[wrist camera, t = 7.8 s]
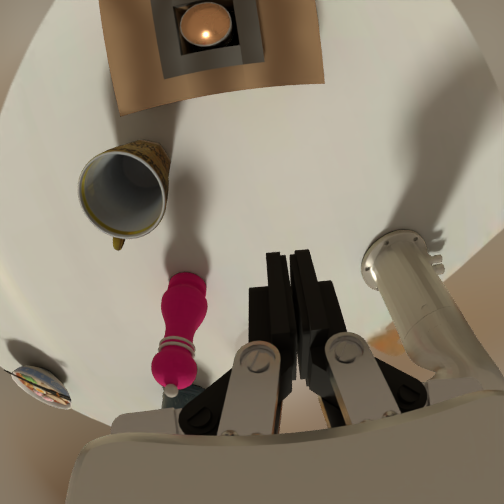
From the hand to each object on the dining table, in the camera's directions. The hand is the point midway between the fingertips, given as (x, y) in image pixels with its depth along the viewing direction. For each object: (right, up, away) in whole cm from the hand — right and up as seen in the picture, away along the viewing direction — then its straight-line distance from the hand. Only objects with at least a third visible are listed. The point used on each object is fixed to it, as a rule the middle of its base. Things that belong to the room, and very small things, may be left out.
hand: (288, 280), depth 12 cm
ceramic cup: (-15, +11, +24) cm, 31 cm away
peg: (-6, +25, +14) cm, 30 cm away
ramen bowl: (-67, -38, +58) cm, 97 cm away
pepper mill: (-12, -4, +36) cm, 38 cm away
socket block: (-6, +25, +14) cm, 30 cm away
